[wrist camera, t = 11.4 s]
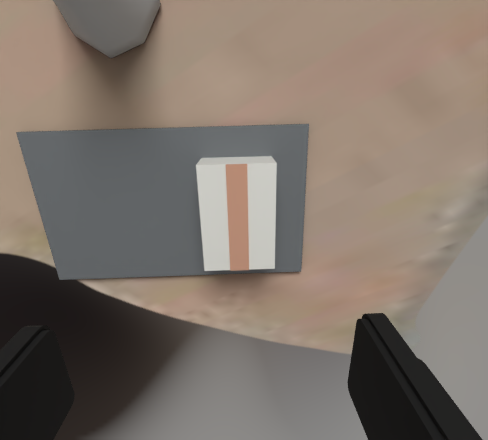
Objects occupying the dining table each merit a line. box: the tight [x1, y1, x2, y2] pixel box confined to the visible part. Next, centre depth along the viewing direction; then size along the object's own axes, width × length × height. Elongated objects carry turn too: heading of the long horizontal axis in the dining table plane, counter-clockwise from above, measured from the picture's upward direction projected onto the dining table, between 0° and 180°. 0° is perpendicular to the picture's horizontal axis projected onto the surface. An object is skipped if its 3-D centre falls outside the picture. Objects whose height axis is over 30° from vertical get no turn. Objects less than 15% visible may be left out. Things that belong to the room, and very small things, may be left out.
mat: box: [16, 124, 309, 280], centre depth 26 cm, size 24×14×1 cm, turn 91°
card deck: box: [196, 156, 277, 271], centre depth 25 cm, size 9×6×4 cm, turn 1°
